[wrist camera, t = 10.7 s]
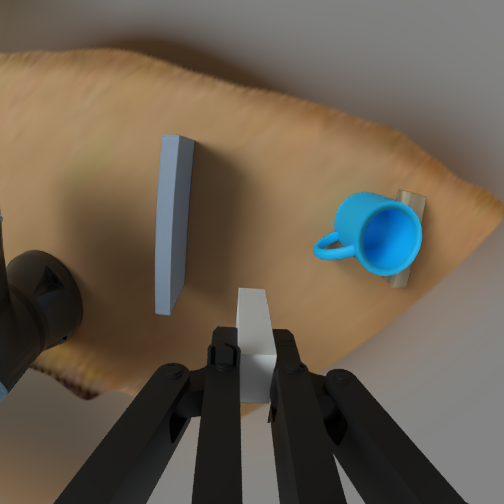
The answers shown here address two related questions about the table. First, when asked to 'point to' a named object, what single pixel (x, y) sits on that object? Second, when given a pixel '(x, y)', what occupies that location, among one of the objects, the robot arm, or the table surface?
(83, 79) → the table surface
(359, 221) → the mug
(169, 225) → the screen
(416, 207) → the block
